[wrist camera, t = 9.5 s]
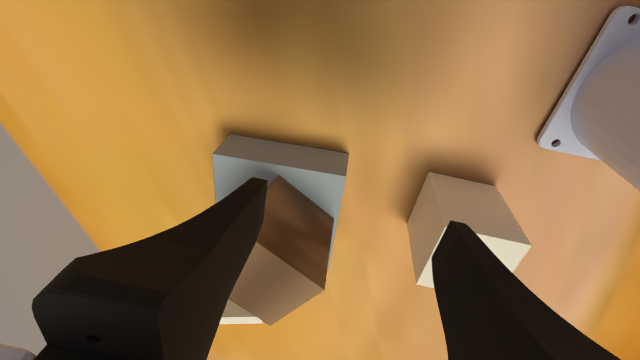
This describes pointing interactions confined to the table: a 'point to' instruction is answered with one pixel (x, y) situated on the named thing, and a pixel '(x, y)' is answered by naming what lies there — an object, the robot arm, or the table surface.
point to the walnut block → (285, 255)
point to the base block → (282, 170)
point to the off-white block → (462, 221)
